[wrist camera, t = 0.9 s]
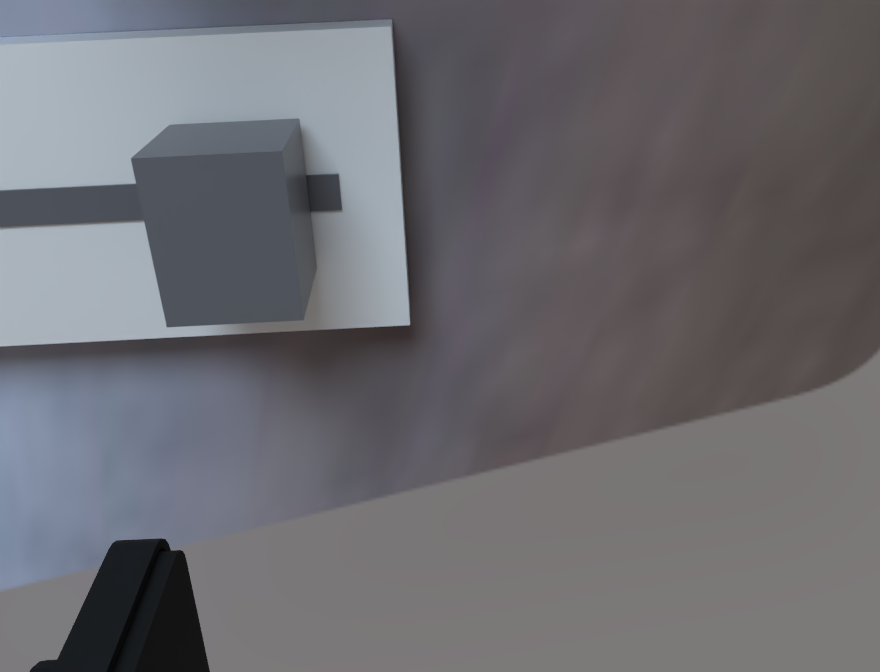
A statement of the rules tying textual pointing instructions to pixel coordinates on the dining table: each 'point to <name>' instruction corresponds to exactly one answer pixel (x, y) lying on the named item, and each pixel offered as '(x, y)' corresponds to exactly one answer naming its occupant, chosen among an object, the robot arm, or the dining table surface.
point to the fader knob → (228, 221)
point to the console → (187, 102)
